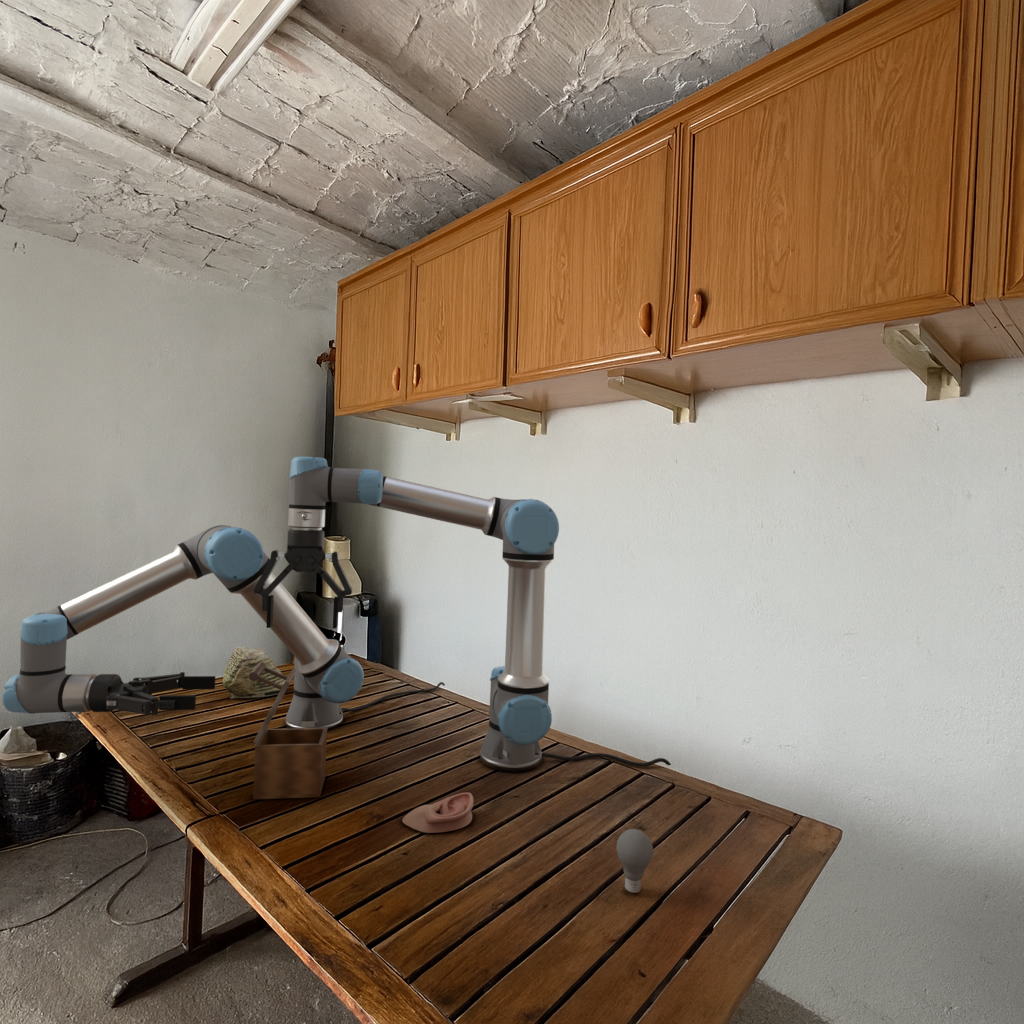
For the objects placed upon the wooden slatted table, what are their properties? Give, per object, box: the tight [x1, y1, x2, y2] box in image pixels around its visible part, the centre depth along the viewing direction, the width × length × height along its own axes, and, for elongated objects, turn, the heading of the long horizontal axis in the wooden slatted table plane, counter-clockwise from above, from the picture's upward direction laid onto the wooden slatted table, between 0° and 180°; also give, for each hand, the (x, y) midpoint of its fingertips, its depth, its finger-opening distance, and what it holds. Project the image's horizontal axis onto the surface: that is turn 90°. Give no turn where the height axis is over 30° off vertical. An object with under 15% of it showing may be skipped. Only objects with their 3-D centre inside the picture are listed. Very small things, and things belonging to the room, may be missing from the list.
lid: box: [249, 663, 297, 745], centre depth 136 cm, size 14×10×8 cm
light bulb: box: [615, 828, 654, 894], centre depth 106 cm, size 6×6×10 cm
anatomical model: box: [401, 791, 474, 834], centre depth 126 cm, size 13×4×12 cm
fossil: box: [222, 646, 286, 699], centre depth 198 cm, size 9×18×15 cm, turn 132°
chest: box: [252, 728, 328, 800], centre depth 137 cm, size 13×10×11 cm
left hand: (205, 692), depth 134 cm, fingers open, 13 cm apart
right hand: (302, 627), depth 137 cm, fingers open, 13 cm apart
